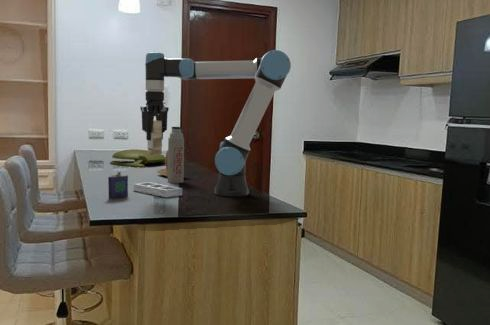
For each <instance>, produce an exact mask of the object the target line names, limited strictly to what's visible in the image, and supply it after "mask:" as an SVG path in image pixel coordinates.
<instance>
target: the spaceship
mask: <svg viewBox="0 0 490 325" xmlns="http://www.w3.org/2000/svg"><path fill="white" fill-rule="evenodd" d="M111 157H112V158H113V159H118V160H131V161H132V160H133V162H127V161H118V160H112V161H110V162H109V164H110V165H113V164H114V165H113V166H121V165H122V166H121V167H129V166H130V167H131V168H137V167H140V168H139V169H142V168H141V167H144V168H146V167H145V165H146V164H156V163H159V164H158V165H165V164H166V159H165V158H166V155H165V156H164V154H160V155H150V154H148V149H147V150H146V149H145V150H144V149H133V148H132V149H124V150H120V151H117V152H115V153H113V155H112V156H111Z"/></svg>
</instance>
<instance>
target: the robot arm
mask: <svg viewBox="0 0 490 325" xmlns="http://www.w3.org/2000/svg"><path fill="white" fill-rule="evenodd" d="M291 63H292V62H291V60H290V58H289V56H288V55H287V54H286V53H285V52H284V51H281V50H277V49H273V50H269V51H267V52H266V53H265V54H264V55H263V56H262V57H256V58H255V59H254V60H219V61H218V60H214V61H213V60H212V61H211V60H209V61H194V60H193V59H192V58H187V57H183V58H182V57H181V58H177V57H176V58H168V57H165V54H164V53H163V52H155V51H154V52H153V51H152V52H147V53H146V54H145V63H144V65H145V91H146V92H145V101H146V102H145V105H143V106H140V111H141V130H142V131H144V133H146V134H145V135H146V138H145V139H146V141H147V149H148V148H153V133H151V132H152V127H153V120H154V119H155V120H156V121H162V141H163V140H164V133H165V132H166V131H167V130H168V112H169V107H168V106H165V105H164V101H165V92H164V91H165V78H179V79H180V80H183V81H189V80H216V79H217V80H218V79H219V80H222V79H223V80H226V79H227V80H228V79H231V80H232V79H254V80H255V83H254V85H253V87H252V90H251V92H250V93H249V96H248V98H247V100H246V102H245V104H244V106H243V108H242V110H241V113H240V115H239V117H238V119H237V121H236V123H235V124H234V128H233V130H232V131H231V134H230V135H229V136H226V137H225V138H224V140H223V141H221V142H220V144H219V150H218V151H217V152H216V153H215V157H214V164H215V167H216V169H217V170H218V179H217V181H216V185H215V187H214V195H218V196H222V197H245V196H248V195H249V187H248V184H247V179H246V165H247V164H246V161H247V159H248V156H249V154H250V152H251V147H250V143H251V142H252V140H253V137H254V135H255V133H256V131H257V129H258V127H259V126H260V123H261V121H262V119H263V117H264V115H265V113H266V110H267V109H268V107H269V105H270V102H271V101H272V98H273V97H274V94H275V92H277V91H279V90H281V89H282V86H283V84H284V83H285V80H286V78H287V76H288V74H289V72H290V70H291V67H292V65H291Z"/></svg>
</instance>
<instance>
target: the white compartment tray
mask: <svg viewBox="0 0 490 325" xmlns="http://www.w3.org/2000/svg"><path fill="white" fill-rule="evenodd" d="M133 191H134V192H137V191H139V192H138V193H142V192H143V193H142V194H147V193H148V194H147V195H151V194H152V196H157V197H160V196H161V197H162V198H172V197H173V198H174V197H180V196H183V188H182V187H177V186H172V185H167V184H161V183H156V182H152V181H151V182H150V181H148V182H147V181H146V182H140V183H133Z"/></svg>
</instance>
